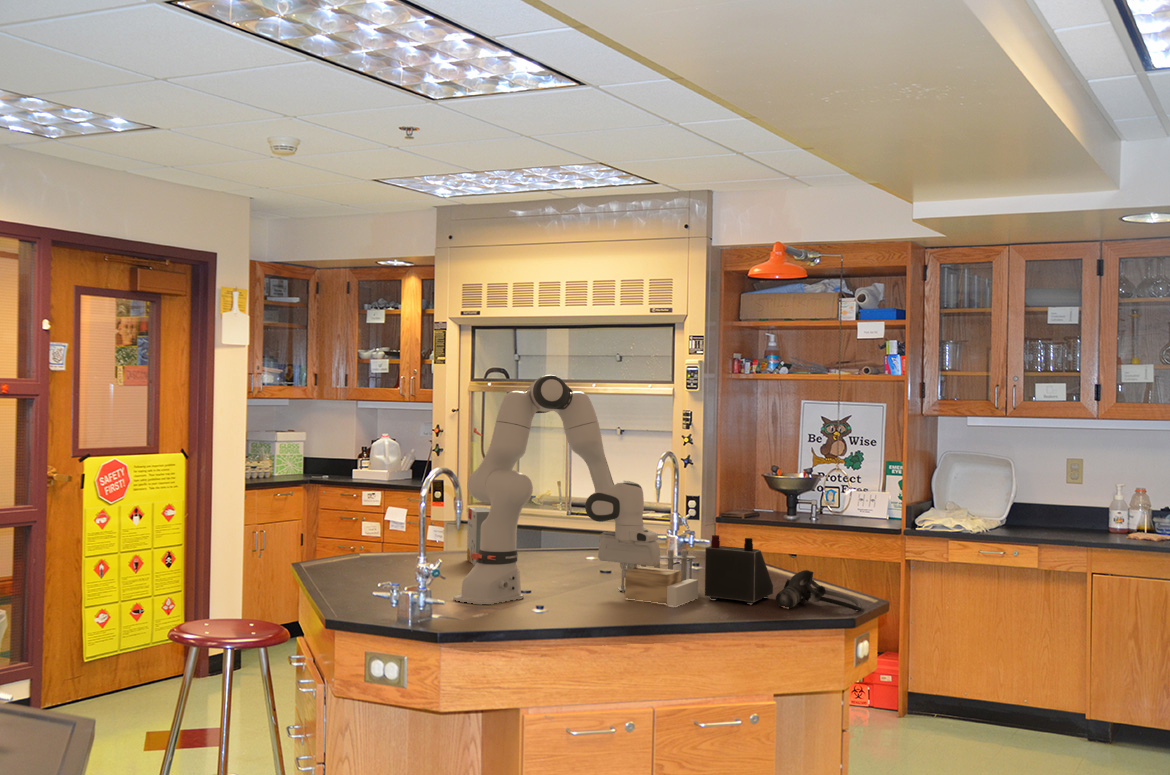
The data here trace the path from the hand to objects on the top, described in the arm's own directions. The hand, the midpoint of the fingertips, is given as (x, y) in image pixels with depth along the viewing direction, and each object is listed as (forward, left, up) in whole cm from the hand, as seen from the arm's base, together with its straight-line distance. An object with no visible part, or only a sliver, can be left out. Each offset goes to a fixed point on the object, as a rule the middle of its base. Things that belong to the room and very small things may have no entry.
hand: (628, 577), depth 321 cm
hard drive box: (+27, +75, -6) cm, 80 cm away
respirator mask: (+19, -55, -6) cm, 59 cm away
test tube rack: (+14, -3, -6) cm, 16 cm away
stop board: (0, -19, -6) cm, 20 cm away
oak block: (-1, -9, -6) cm, 11 cm away
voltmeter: (+16, -31, -6) cm, 35 cm away
